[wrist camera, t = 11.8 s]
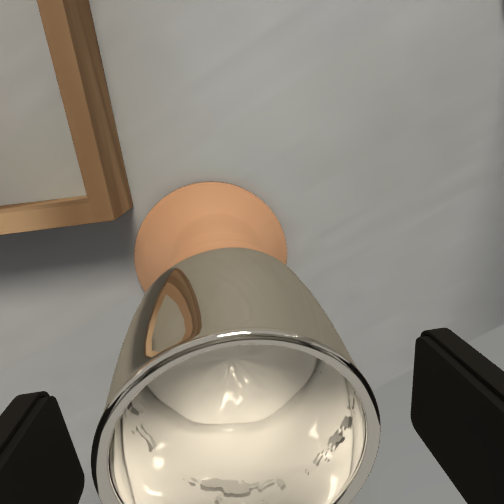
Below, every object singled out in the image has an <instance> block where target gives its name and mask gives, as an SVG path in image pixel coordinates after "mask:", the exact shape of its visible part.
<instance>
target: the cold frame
mask: <svg viewBox="0 0 504 504" xmlns="http://www.w3.org/2000/svg"><path fill="white" fill-rule="evenodd" d="M37 3H38V7H39V11H40V15H41V19H42V23H43V27H44V31H45V35H46V38H47V42H48V46H49V50H50V54H51V58H52V62H53V66H54V69H55V73H56V77H57V81H58V85H59V89H60V93H61V97H62V100H63V104H64V108H65V112H66V116H67V120H68V124H69V128H70V131H71V135H72V139H73V143H74V147H75V151H76V155H77V159H78V163H79V166H80V170H81V174H82V178H83V182H84V186H85V190H86V194H87V196H79V197H71V198H62V199H54V200H46V201H37V202H29V203H20V204H12V205H4V206H0V235H2V234H10V233H18V232H26V231H34V230H41V229H49V228H57V227H65V226H73V225H81V224H89V223H96V222H104V221H112V220H116V219H117V218H118V217H120V216H121V215H122V214H124V213H125V212H126V211H128V210H129V209H130V208H132V207H133V203H132V199H131V194H130V189H129V185H128V180H127V176H126V171H125V166H124V162H123V157H122V152H121V148H120V143H119V139H118V134H117V129H116V125H115V120H114V116H113V111H112V106H111V102H110V97H109V93H108V88H107V83H106V79H105V74H104V70H103V65H102V60H101V56H100V51H99V46H98V42H97V37H96V33H95V28H94V23H93V19H92V14H91V10H90V5H89V0H37Z"/></svg>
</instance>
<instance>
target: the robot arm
mask: <svg viewBox="0 0 504 504" xmlns="http://www.w3.org/2000/svg"><path fill="white" fill-rule="evenodd" d="M413 374H414V375H413V388H412V403H411V421H412V424H413V426H414V429H415V430H416V432H417V433H418V435H419V436H420V437H421V439H422V440H423V442H424V443H425V445H426V446H427V447H428V449H429V450H430V452H431V453H432V454H433V456H434V457H435V459H436V460H437V461H438V463H439V464H440V465H441V467H442V468H443V470H444V471H445V473H446V474H447V475H448V477H449V478H450V479H451V481H452V482H453V484H454V485H455V487H456V488H457V490H458V491H459V492H460V494H461V495H462V496H463V498H464V499H465V501H466V502H467V503H468V504H504V371H502V370H501V369H500V368H499V367H497V366H496V365H495V364H493V363H492V362H491V361H489V360H488V359H487V358H486V357H484V356H483V355H482V354H481V353H479V352H478V351H476V350H475V349H474V348H473V347H472V346H470V345H469V344H468V343H466V342H465V341H464V340H463V339H461V338H460V337H459V336H457V335H456V334H455V333H454V332H452V331H451V330H449V329H448V328H438V329H432V330H426V331H423V332H422V333H421V336H420V337H419V338H417V339H416V344H415V359H414V373H413ZM83 488H84V473H83V470H82V467H81V465H80V462H79V459H78V456H77V454H76V451H75V448H74V446H73V443H72V440H71V438H70V435H69V432H68V429H67V427H66V424H65V421H64V419H63V416H62V413H61V410H60V408H59V405H58V402H57V400H56V398H55V397H54V396H49V394H48V393H47V392H45V391H41V392H35V393H28V394H22V395H18V396H16V397H15V398H14V399H13V400H12V402H11V403H10V404H9V405H8V407H7V408H6V409H5V411H4V412H3V413H2V414H1V416H0V504H78V503H79V500H80V497H81V495H82V492H83Z"/></svg>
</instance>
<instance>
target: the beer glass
mask: <svg viewBox="0 0 504 504" xmlns="http://www.w3.org/2000/svg"><path fill="white" fill-rule="evenodd" d="M380 426H381V424H380V414H379V409H378V405H377V402H376V399H375V397H374V394H373V391H372V389H371V387H370V385H369V384H368V382H367V380H366V379H365V377H364V376H363V375H362V373H361V372H360V371H359V370H358V368H357V367H356V365H355V363H354V361H353V360H352V358H351V356H350V354H349V352H348V351H347V349H346V347H345V345H344V343H343V341H342V340H341V338H340V336H339V334H338V333H337V331H336V329H335V328H334V326H333V324H332V322H331V321H330V319H329V317H328V316H327V314H326V313H325V311H324V310H323V308H322V307H321V305H320V304H319V302H318V301H317V300H316V298H315V297H314V295H313V294H312V293H311V291H310V290H309V289H308V288H307V287H306V285H305V284H304V283H303V282H302V281H301V280H300V279H299V277H298V276H297V275H296V274H295V273H294V272H293V271H292V270H291V269H290V268H289V267H287V266H286V265H285V264H284V263H282V262H281V261H280V260H278V259H277V258H276V257H274V256H273V255H271V254H270V253H268V252H266V251H265V250H264V249H263V245H262V242H261V240H260V238H259V236H258V234H257V232H256V231H255V230H254V229H253V228H252V227H251V226H250V225H249V224H248V223H247V222H245V221H244V220H242V219H241V218H239V217H236V216H234V215H231V214H226V213H210V214H205V215H202V216H199V217H197V218H195V219H193V220H192V221H190V222H189V223H187V224H186V225H185V226H184V227H183V228H182V229H181V230H180V232H179V233H178V235H177V236H176V238H175V240H174V243H173V246H172V250H171V263H169V264H168V265H167V266H166V267H165V268H164V270H163V271H162V272H161V273H160V274H159V276H158V277H157V278H156V279H155V281H154V282H153V283H152V284H151V286H150V287H149V288H148V290H147V291H146V293H145V295H144V297H143V299H142V301H141V303H140V305H139V306H138V308H137V310H136V312H135V314H134V316H133V318H132V321H131V323H130V326H129V328H128V331H127V334H126V337H125V339H124V342H123V345H122V347H121V351H120V354H119V357H118V361H117V364H116V368H115V371H114V374H113V378H112V382H111V386H110V390H109V394H108V397H107V401H106V405H105V408H104V412H103V415H102V417H101V419H100V421H99V423H98V426H97V429H96V432H95V435H94V440H93V445H92V453H91V469H92V477H93V481H94V485H95V488H96V491H97V494H98V496H99V498H100V501H101V502H102V504H349V503H350V502H351V501H352V500H353V498H354V497H355V496H356V494H357V493H358V492H359V490H360V489H361V488H362V486H363V484H364V483H365V481H366V480H367V478H368V476H369V474H370V472H371V470H372V468H373V465H374V462H375V459H376V456H377V453H378V448H379V443H380V432H381V427H380Z"/></svg>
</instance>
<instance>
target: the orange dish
mask: <svg viewBox="0 0 504 504" xmlns="http://www.w3.org/2000/svg"><path fill="white" fill-rule="evenodd" d="M210 213H226V214H231V215H234V216H236V217H239V218H241V219H242V220H244V221H245V222H247V223H248V224H249V225H250V226H251V227H252V228H253V229H254V230H255V231H256V232H257V234H258V236H259V238H260V240H261V242H262V245H263V249H264V250H265V251H266V252H268V253H270V254H271V255H273V256H274V257H276V258H277V259H278V260H280V261H281V262H282V263H284V264H285V265H286V261H287V247H286V240H285V236H284V233H283V230H282V228H281V225H280V223H279V221H278V220H277V218H276V216H275V215H274V213H273V212H272V211H271V210H270V208H269V207H268V206H267V205H266V204H265V203H264V202H263V201H262V200H260V199H259V198H258V197H256V196H255V195H254V194H252V193H251V192H249V191H247V190H245V189H243V188H241V187H238V186H235V185H233V184H228V183H224V182H213V181H210V182H199V183H193V184H190V185H187V186H184V187H181V188H179V189H177V190H175V191H173V192H171V193H170V194H168V195H167V196H165V197H164V198H163V199H162V200H161V201H159V202H158V203H157V204H156V205H155V206H154V207H153V209H152V210H151V211H150V212H149V213H148V215H147V216H146V218H145V220H144V221H143V223H142V225H141V227H140V229H139V232H138V235H137V239H136V243H135V251H134V258H135V267H136V272H137V275H138V279H139V281H140V283H141V286H142V288H143V289H144V291H145V293H146V291H147V290H148V288H149V287H150V286H151V284H152V283H153V282H154V281H155V279H156V278H157V277H158V276H159V274H160V273H161V272H162V271H163V270H164V268H165V267H166V266H167V265H168V264H169V263H171V250H172V246H173V243H174V240H175V238H176V236H177V235H178V233H179V232H180V230H181V229H182V228H183V227H184V226H185V225H186V224H187V223H189V222H190V221H192V220H193V219H195V218H197V217H199V216H202V215H205V214H210Z"/></svg>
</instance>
